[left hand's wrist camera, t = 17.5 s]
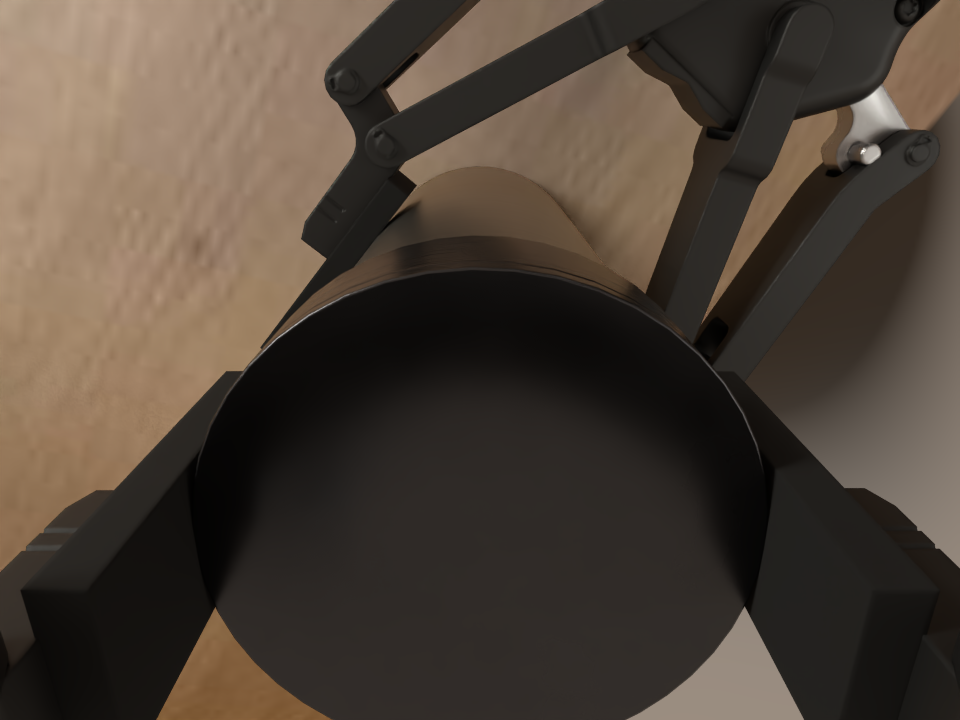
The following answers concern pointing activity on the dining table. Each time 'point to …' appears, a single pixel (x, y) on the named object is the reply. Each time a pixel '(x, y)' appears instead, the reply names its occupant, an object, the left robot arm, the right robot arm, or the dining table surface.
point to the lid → (479, 492)
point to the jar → (480, 213)
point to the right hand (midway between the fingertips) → (391, 417)
